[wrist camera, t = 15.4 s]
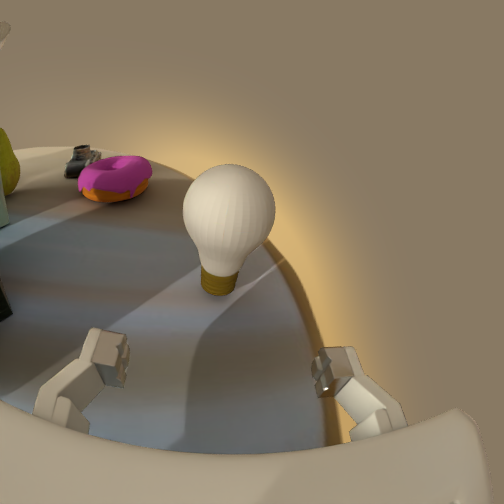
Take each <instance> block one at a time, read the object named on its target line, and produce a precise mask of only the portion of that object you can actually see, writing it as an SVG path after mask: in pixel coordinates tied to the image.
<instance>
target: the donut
mask: <svg viewBox="0 0 504 504" xmlns="http://www.w3.org/2000/svg"><path fill="white" fill-rule="evenodd" d="M151 176H152V168H151V165H150V163H149V162H148V160H146V159H145V158H143V157H140V156H115V157H109V158H106V159H102V160H99V161H96V162H93V163H92V164H90V165H88V166H87V167H85V168H84V169H83V170H82V172H81V173H80V176H79V179H78V188H79V192H81V190H82V193H83V195H84V196H85V197H87V198H88V199H90V200H93V201H98V202H117V201H122V200H127V199H130V198H133V197H135V196H137V195H139V194H141V193H142V192H143V191H144V190H145V189H146V188H147V186H148V179H149V178H150V177H151Z"/></svg>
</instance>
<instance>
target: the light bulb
mask: <svg viewBox="0 0 504 504" xmlns="http://www.w3.org/2000/svg"><path fill="white" fill-rule="evenodd" d="M183 219H184V223H185V226H186V229H187V231H188V233H189V235H190V237H191V238H192V240H193V241H194V243H195V244H196V246H197V248H198V251H199V258H200V262H201V286H202V288H203V289H204V290H205V291H206V292H208V293H210V294H212V295H217V296H223V295H227V294H229V293H231V292H232V291H233V290H234V288H235V284H236V280H237V277H238V273H239V270H240V268H241V267H242V265H243V263H244V261H245V259H246V258H247V256H248V255H249V254H250V253H251V252H252V251H253V250H255V249H256V248H257V247H258V246H260V245H261V244H262V243H263V241H264V240H265V239H266V238H267V236H268V235H269V233H270V231H271V229H272V226H273V223H274V219H275V202H274V197H273V194H272V192H271V190H270V188H269V186H268V185H267V183H266V182H265V181H264V179H263V178H262V177H260V176H259V175H258V174H257V173H256V172H254V171H253V170H251V169H248V168H246V167H244V166H240V165H234V164H225V165H219V166H216V167H213V168H210V169H208V170H206V171H205V172H203V173H202V174H201V175H199V176H198V177H197V178H196V179H195V180H194V181H193V183H192V184H191V186H190V187H189V189H188V191H187V193H186V196H185V199H184V203H183Z"/></svg>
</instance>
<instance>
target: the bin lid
mask: <svg viewBox="0 0 504 504" xmlns="http://www.w3.org/2000/svg"><path fill="white" fill-rule="evenodd" d="M9 32H10V24H9V23H8V22H6V21H2V22H0V50H1V48H2V47H3V45H4V43H5V40H6V38H7V36H8V34H9Z"/></svg>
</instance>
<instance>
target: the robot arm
mask: <svg viewBox="0 0 504 504" xmlns="http://www.w3.org/2000/svg"><path fill="white" fill-rule="evenodd" d="M126 342H127V336H126V334H123V333H117V332H112V331H107V330H103V329H97V328H91V329H90V330H89V332H88V335H87V338H86V340H85V343H84V346H83V349H82V352H81V354H80V357H79V359H75V360H73V361H72V362H71V363H70V364H68V365H67V366H66V367H65V368H64V369H62V370H61V371H60V372H59V373H57V374H56V375H55V376H54V377H52V378H51V379H50V380H49V381H48V382H46V383H45V384H44V385H43V386H41V387H40V389H39V392H38V395H37V398H36V402H35V405H34V408H33V412H32V414H29V413H27V412H25V411H23V410H20V409H18V408H16V407H14V406H12V405H10V404H8V403H6V402H4V401H2V400H0V504H493V489H492V481H491V474H490V468H489V463H488V459H487V455H486V451H485V447H484V443H483V440H482V437H481V434H480V431H479V428H478V426H477V424H476V422H475V421H474V419H472V418H471V417H470V416H469V415H468V414H466V413H465V412H464V411H463V410H461V409H459V408H454V409H451V410H449V411H446V412H444V413H442V414H439V415H437V416H434V417H432V418H429V419H427V420H424V421H421V422H419V423H416V424H413V425H410V426H408V424H407V421H406V418H405V415H404V413H403V410H402V407H401V405H400V403H399V402H398V401H396V400H395V399H394V398H393V397H392V396H391V395H390V394H388V393H387V392H386V391H385V390H384V389H383V388H382V387H380V386H379V385H378V384H377V383H376V382H375V381H373V380H372V379H371V378H370V377H369V376H368V375H365V374H364V372H363V369H362V366H361V364H360V361H359V358H358V356H357V353H356V351H355V349H354V347H352V346H348V347H323V348H321V349H320V350H319V352H318V353H319V356H317V357H315V358H314V360H313V362H312V366H311V372H312V377H313V378H314V379H315V380H316V381H317V382H316V384H315V389H316V393H317V397H318V398H323V397H334V398H335V399H336V400H337V401H338V403H339V404H340V405H341V406H342V407H343V408H344V410H345V411H346V412H347V413H348V414H349V415H350V416H351V418H352V419H353V420H354V421H355V422H356V423H357V424H358V425H356V426H355V427H354V428H352V429H351V430H350V432H349V434H350V438H351V442H348V443H343V444H338V445H333V446H327V447H321V448H315V449H308V450H300V451H291V452H280V453H266V454H202V453H188V452H177V451H168V450H160V449H153V448H147V447H141V446H135V445H130V444H125V443H120V442H116V441H111V440H107V439H103V438H99V437H95V436H92V435H88V432H89V426H90V423H89V421H88V420H87V419H86V418H85V417H84V416H83V414H82V413H81V412H82V411H83V410H84V409H85V408H86V407H87V406H88V405H89V403H90V402H91V401H92V400H93V399H94V398H95V397H96V396H97V395H98V394H99V393H100V391H101V390H102V389H103V388H104V387H105V385H107V386H112V387H118V388H124V384H125V380H126V372H125V369H126V368H127V367H128V365H129V360H130V348H129V345H128V344H127V343H126Z"/></svg>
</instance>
